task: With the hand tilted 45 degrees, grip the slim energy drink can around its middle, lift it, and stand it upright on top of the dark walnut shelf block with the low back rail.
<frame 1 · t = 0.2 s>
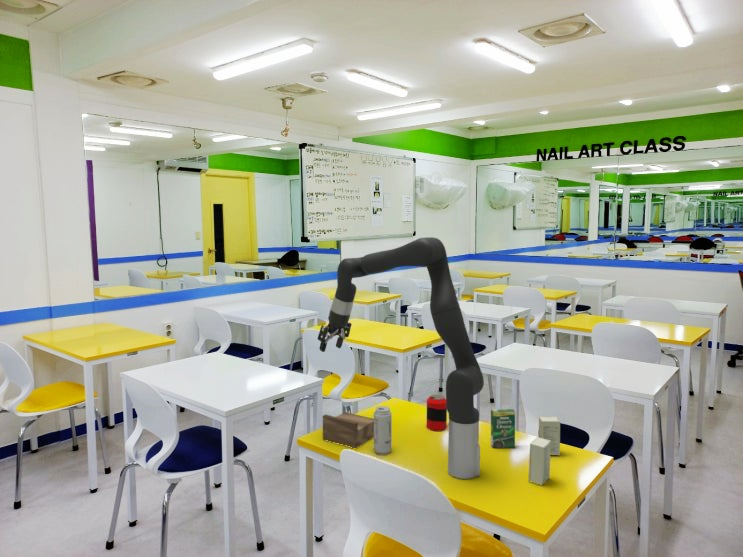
hand: (330, 349, 191), 31 cm above the table, tool tilted 20°, fingers open, 8 cm apart
walnut shelf block: (350, 437, 187), on the table
skincare box: (539, 480, 155), on the table
energy drink can: (382, 452, 175), on the table
coffee box: (502, 447, 179), on the table
skincare box 2: (548, 454, 174), on the table
soda can: (436, 428, 196), on the table
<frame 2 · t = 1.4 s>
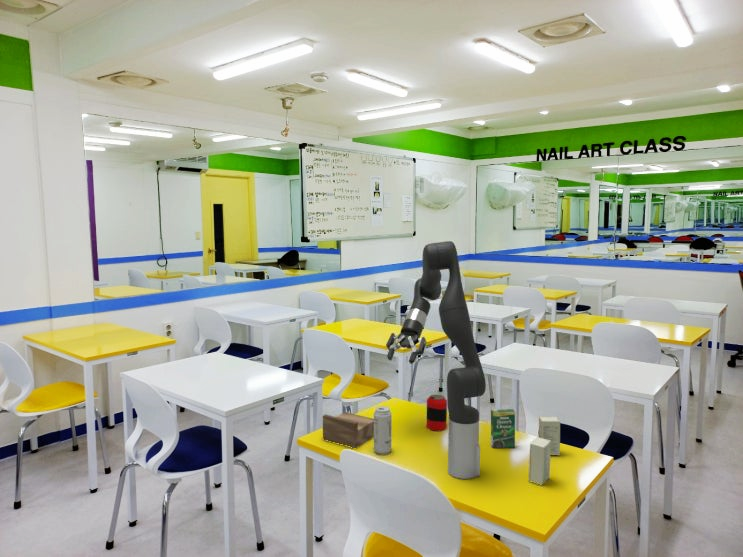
hand: (399, 361, 183), 29 cm above the table, tool tilted 45°, fingers open, 8 cm apart
nothing on the table moved.
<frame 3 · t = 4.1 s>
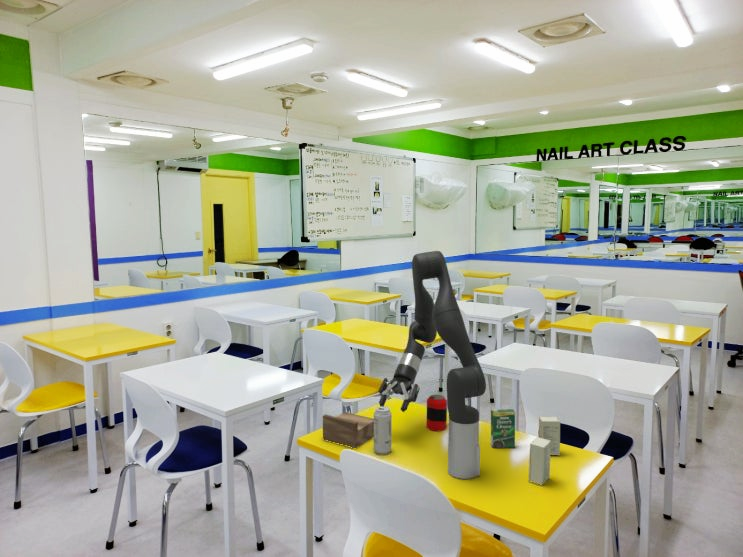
hand: (391, 408, 179), 13 cm above the table, tool tilted 45°, fingers open, 8 cm apart
nothing on the table moved.
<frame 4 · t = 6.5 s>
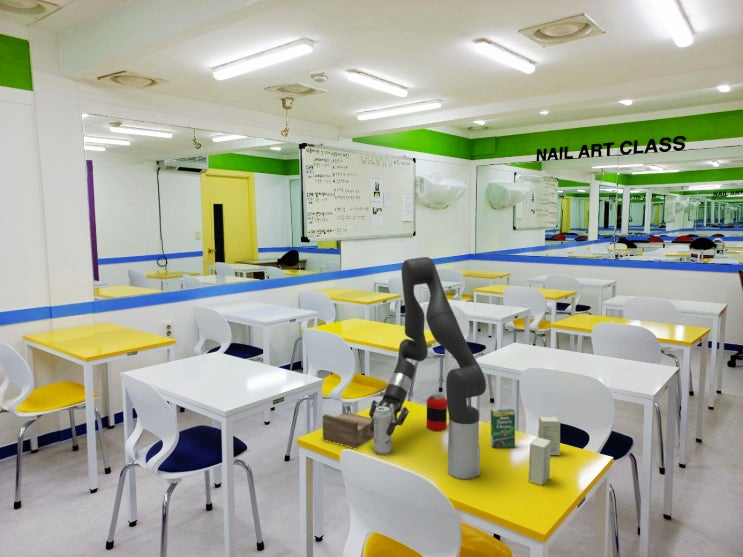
hand: (380, 432, 173), 7 cm above the table, tool tilted 45°, fingers closed on energy drink can, 6 cm apart
energy drink can: (382, 452, 175), on the table, touching gripper
everything else where it was.
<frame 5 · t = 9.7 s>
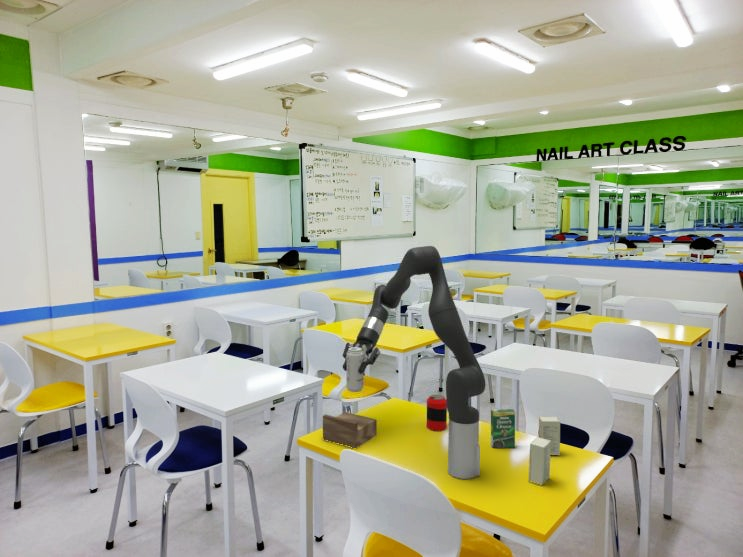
hand: (352, 371, 181), 26 cm above the table, tool tilted 45°, fingers closed on energy drink can, 6 cm apart
energy drink can: (354, 390, 184), point 18 cm above the table, touching gripper
everything else where it was.
when the fingers open (15 cm above the table, at t = 13.0 s): energy drink can drops 1 cm, resting on walnut shelf block.
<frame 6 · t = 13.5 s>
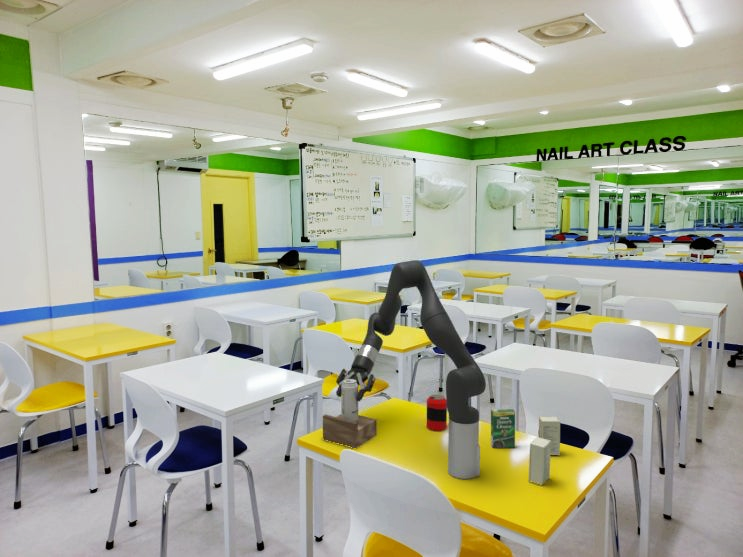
hand: (347, 398, 184), 15 cm above the table, tool tilted 45°, fingers open, 8 cm apart
energy drink can: (349, 421, 186), point 6 cm above the table, touching walnut shelf block
everything else where it was.
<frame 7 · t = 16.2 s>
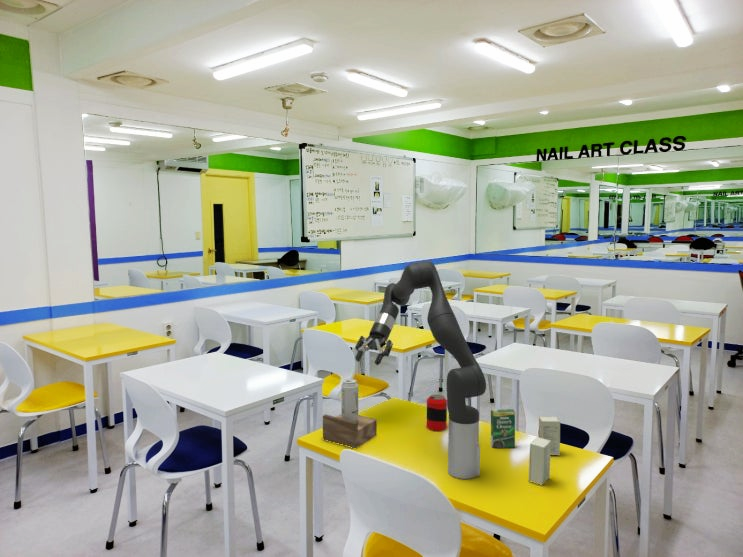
hand: (366, 362, 193), 25 cm above the table, tool tilted 45°, fingers open, 8 cm apart
nothing on the table moved.
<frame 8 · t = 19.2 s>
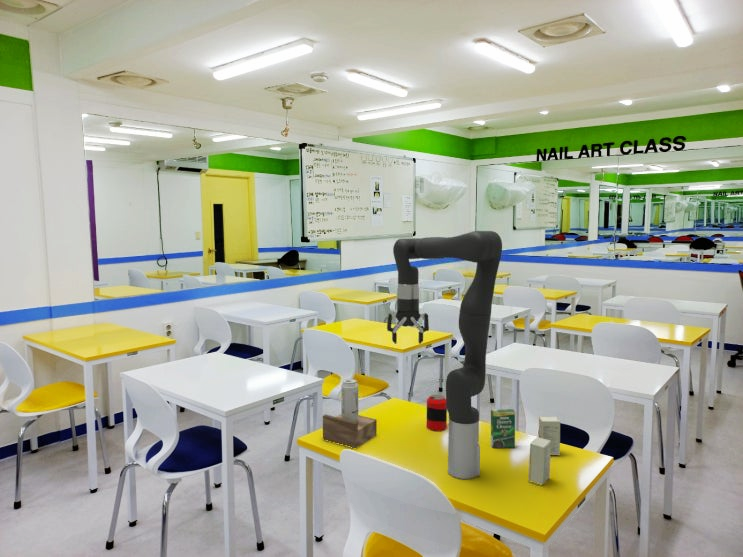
hand: (407, 343, 178), 36 cm above the table, tool pointing down, fingers open, 8 cm apart
nothing on the table moved.
at the end: energy drink can inside the target area on the walnut shelf block (0.3 cm from its centre), point 5.8 cm above the walnut shelf block's base; energy drink can tilted 0°; the gripper is holding nothing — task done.
